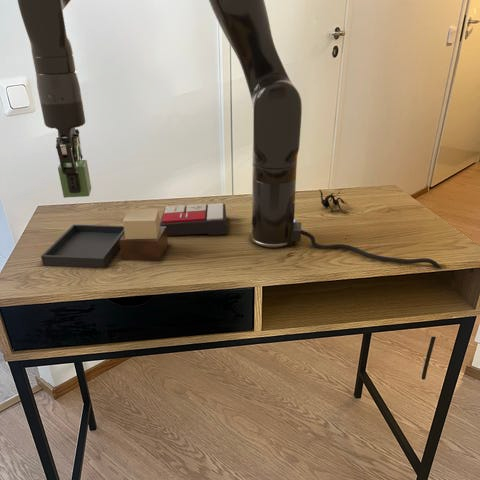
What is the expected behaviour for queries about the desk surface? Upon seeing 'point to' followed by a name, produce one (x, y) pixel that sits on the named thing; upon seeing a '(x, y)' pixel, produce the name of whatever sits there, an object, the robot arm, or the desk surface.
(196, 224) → the calculator
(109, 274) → the desk surface
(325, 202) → the creature
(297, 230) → the robot arm
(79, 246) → the tray
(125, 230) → the cream block
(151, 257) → the walnut block
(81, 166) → the green block
